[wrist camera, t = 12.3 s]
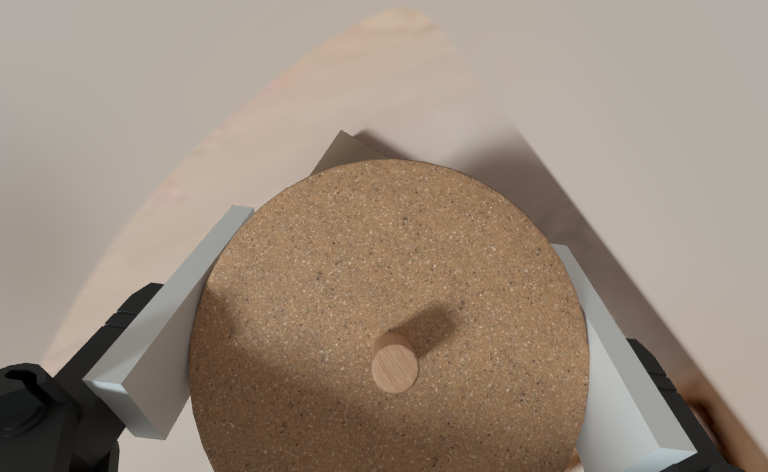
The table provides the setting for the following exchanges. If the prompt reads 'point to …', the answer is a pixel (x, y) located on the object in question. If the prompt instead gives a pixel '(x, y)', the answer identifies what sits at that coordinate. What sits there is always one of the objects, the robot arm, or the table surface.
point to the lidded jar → (389, 331)
